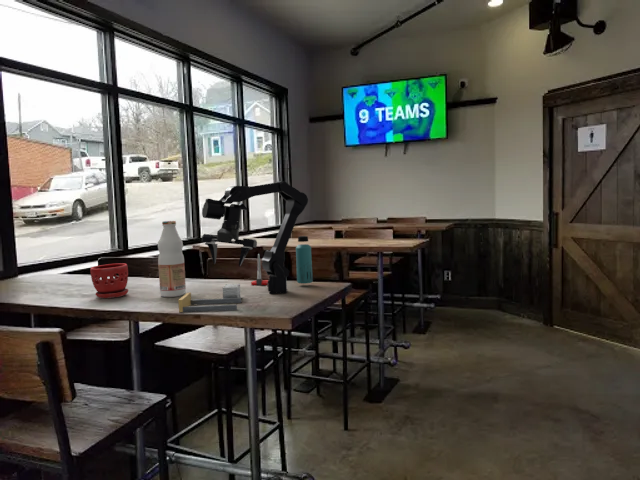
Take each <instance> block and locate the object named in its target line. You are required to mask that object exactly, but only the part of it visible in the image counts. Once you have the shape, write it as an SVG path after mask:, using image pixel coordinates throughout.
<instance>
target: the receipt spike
mask: <svg viewBox="0 0 640 480" xmlns="http://www.w3.org/2000/svg"><path fill="white" fill-rule="evenodd" d="M261 269H262V268H261V257H260V253H258V254H257V272H256V273H257V274H256V275H257V278H256V279H255V280H253V281H251V283H250V285H251V286H268V280H269V279H263V278H262V271H261Z"/></svg>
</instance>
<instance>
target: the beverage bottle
mask: <svg viewBox="0 0 640 480" xmlns="http://www.w3.org/2000/svg"><path fill="white" fill-rule="evenodd" d="M297 242H299V243H302V244H297V245H296V247H295V257H296V258H295V259H296V264H295V266H296V268H295V269H296V282H297V284H303V285H304V284H311V283H313V281H314V279H313V278H314V277H313V259H312V257H313V255H312V246H311V245H310V244H307V242H309V236H307V235H300V236H298V237H297ZM305 242H306V244H303V243H305Z"/></svg>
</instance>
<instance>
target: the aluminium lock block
mask: <svg viewBox="0 0 640 480" xmlns="http://www.w3.org/2000/svg"><path fill="white" fill-rule="evenodd" d="M223 298H241V284H240V283H228V284H225V285H224V286H223V287H222V299H223Z"/></svg>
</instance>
